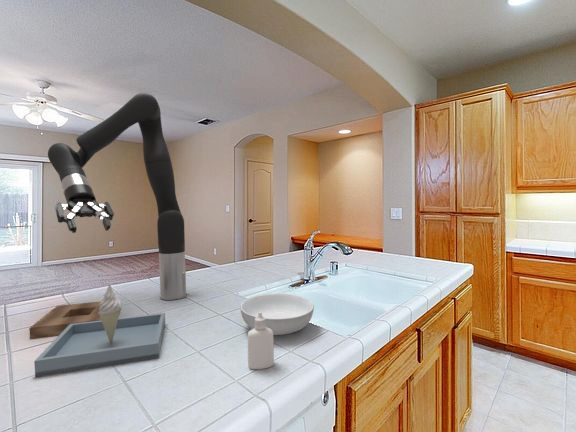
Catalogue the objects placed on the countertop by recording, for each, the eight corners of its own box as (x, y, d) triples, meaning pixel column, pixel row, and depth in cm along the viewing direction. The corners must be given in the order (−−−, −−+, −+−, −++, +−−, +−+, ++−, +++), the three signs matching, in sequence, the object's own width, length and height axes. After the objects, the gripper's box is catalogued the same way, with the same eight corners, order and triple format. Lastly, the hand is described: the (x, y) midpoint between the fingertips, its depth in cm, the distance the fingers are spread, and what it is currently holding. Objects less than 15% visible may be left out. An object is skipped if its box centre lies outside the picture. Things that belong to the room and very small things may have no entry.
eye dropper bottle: (253, 358, 70) (252, 307, 70) (276, 362, 69) (275, 310, 68) (245, 368, 66) (244, 314, 66) (269, 372, 65) (268, 317, 64)
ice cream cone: (112, 347, 74) (109, 287, 73) (94, 345, 75) (92, 286, 74) (126, 338, 79) (124, 281, 78) (110, 336, 80) (108, 280, 79)
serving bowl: (289, 352, 73) (289, 324, 73) (225, 333, 84) (224, 308, 84) (326, 322, 91) (326, 299, 90) (269, 309, 102) (268, 289, 101)
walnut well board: (119, 308, 104) (119, 299, 104) (105, 329, 87) (105, 319, 87) (57, 314, 99) (57, 305, 99) (30, 338, 82) (29, 327, 81)
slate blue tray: (165, 324, 90) (164, 312, 90) (158, 357, 71) (158, 343, 71) (70, 336, 83) (70, 323, 83) (35, 377, 64) (34, 361, 64)
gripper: (52, 181, 89) (64, 222, 82) (105, 183, 100) (121, 220, 93) (48, 200, 93) (60, 240, 86) (100, 199, 103) (114, 235, 97)
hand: (91, 229), depth 89 cm, fingers open, 8 cm apart
